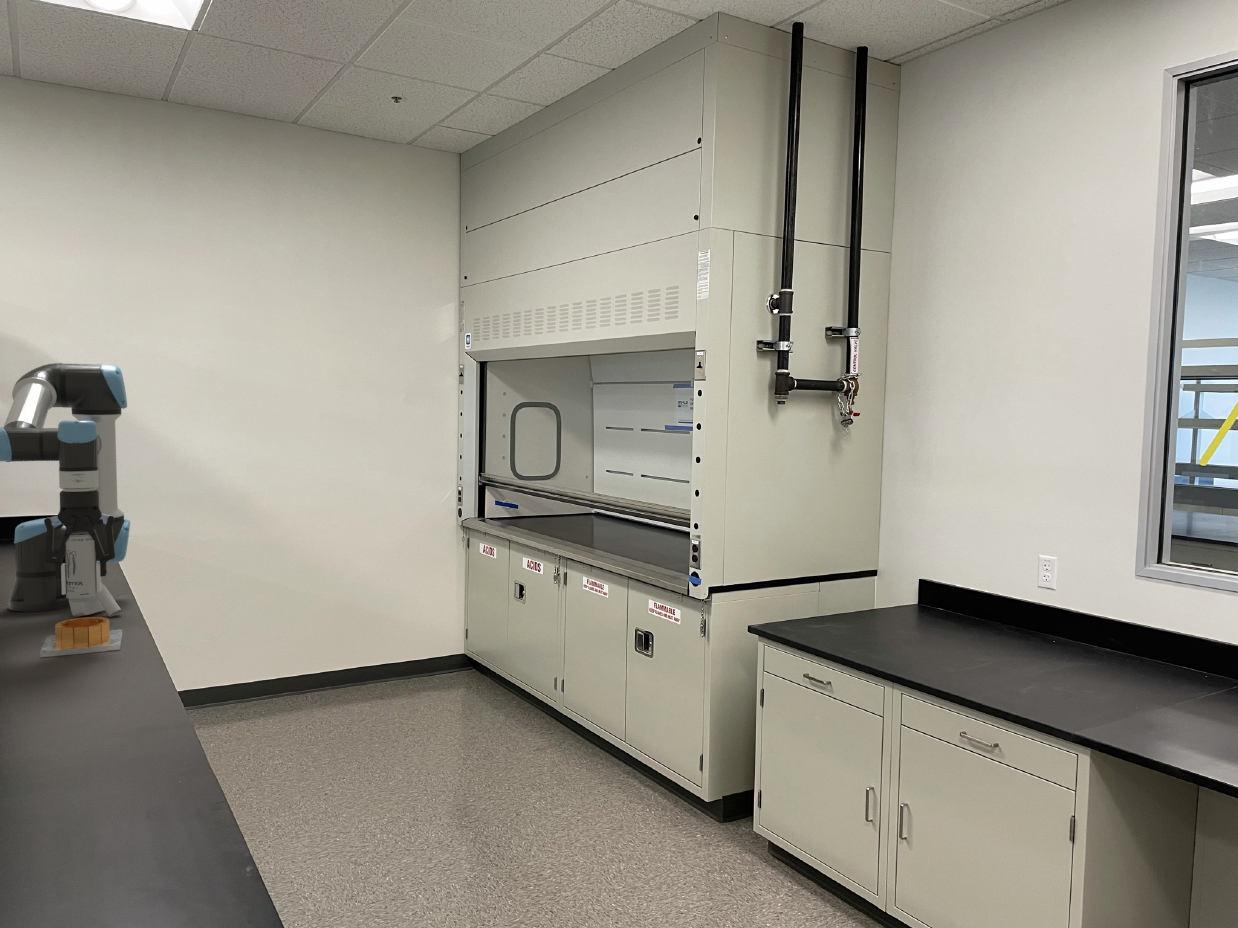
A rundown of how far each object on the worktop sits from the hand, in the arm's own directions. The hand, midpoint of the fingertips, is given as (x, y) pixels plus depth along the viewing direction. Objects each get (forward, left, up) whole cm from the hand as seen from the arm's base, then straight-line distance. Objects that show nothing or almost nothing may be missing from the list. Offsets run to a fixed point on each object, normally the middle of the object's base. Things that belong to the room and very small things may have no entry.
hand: (81, 591), depth 204 cm
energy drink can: (0, 0, -2) cm, 2 cm away
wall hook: (-31, +2, -12) cm, 34 cm away
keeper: (0, 0, -12) cm, 12 cm away
